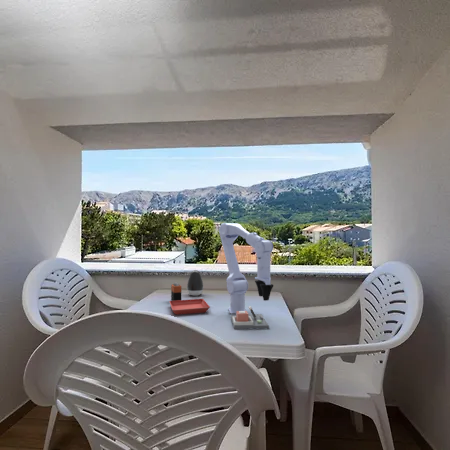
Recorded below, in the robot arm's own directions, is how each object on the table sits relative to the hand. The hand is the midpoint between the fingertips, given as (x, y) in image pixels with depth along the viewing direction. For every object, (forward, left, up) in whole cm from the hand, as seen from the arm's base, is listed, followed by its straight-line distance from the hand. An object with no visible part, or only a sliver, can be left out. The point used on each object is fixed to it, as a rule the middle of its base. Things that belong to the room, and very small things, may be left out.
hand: (263, 298), depth 128 cm
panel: (+2, -7, -10) cm, 12 cm away
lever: (+1, -4, -8) cm, 9 cm away
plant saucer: (-20, -34, -10) cm, 41 cm away
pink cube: (+5, -10, -9) cm, 14 cm away
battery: (-37, -42, -10) cm, 57 cm away
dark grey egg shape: (-53, -32, -10) cm, 63 cm away
